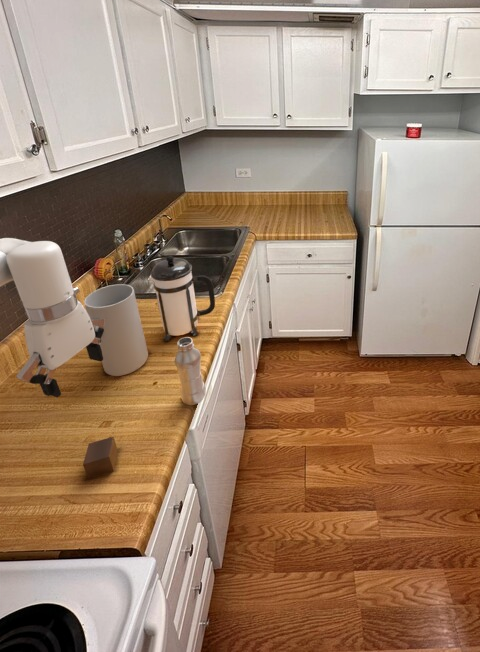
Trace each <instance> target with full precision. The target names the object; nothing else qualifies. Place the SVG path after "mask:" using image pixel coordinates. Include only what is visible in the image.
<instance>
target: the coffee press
mask: <svg viewBox="0 0 480 652" xmlns="http://www.w3.org/2000/svg"><path fill="white" fill-rule="evenodd" d="M192 270H193V265H192V264H191V263H190V262H189V261H188V260H186V259H184V258H181V257H174V256H173V255H171V254H170V255H167V256H166V259H163V260H160V261H159V262H157V263H156V264H155V265H154V266H153V267H152V270H151V272H150V275H149V277H148V278H147V280H148V281H152V282H153V288H154V290H155V294H156V299H157V304H158V310H159V314H160V320H161V325H162V330H163V331H164V336H163V339H162V340H163V341H165V342H169V341H170V340H171V338H172V336H173V337H174V336H176V337H177V336H183V335H187V334H189V333H190V334H191V335H192V337H196V336H197V335H199V331H198V330H197V328H196V327H197V326H198V325H199V317H203V316H206V315H209V314H211V313H212V312H213V311H214V310H215V308H216V307H215V306H216V298H215V290H214V284H213V282H212V279H211V278H209V277H208V276H207V275H204V274H203V275H201V274H200V275H199V274H198V275H195V276H194V275H193V273H192ZM197 281H198V282H204V283H205V284H206V285H207V288H208V289H207V290H208V296H209V297H208V298H209V306H208V307H207V308H206V309H202V310H199V309H198V308H197V301H196V295H195V288H194V282H197Z"/></svg>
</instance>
